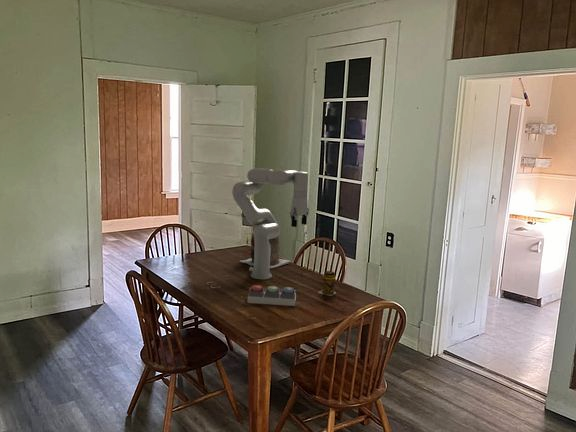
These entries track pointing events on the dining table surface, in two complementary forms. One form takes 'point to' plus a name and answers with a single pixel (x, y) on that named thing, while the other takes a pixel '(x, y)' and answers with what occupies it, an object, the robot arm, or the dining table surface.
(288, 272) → the dining table surface
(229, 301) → the dining table surface
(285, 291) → the blue button
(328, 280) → the condiment
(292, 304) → the button housing
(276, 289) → the sage button
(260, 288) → the red button
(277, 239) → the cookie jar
